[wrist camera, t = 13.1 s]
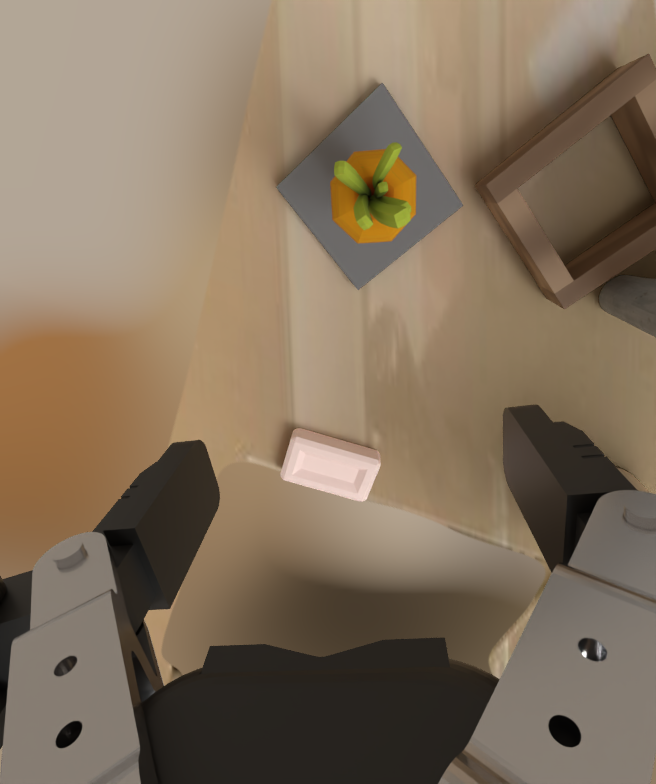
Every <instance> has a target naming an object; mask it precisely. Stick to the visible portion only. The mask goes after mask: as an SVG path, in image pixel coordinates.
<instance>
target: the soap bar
mask: <svg viewBox="0 0 656 784" xmlns="http://www.w3.org/2000/svg"><path fill="white" fill-rule="evenodd" d="M380 466H381V460H380V454H379V452H378V451H377V450H374V449H371V448H367V447H364V446H361V445H357V444H354V443H350V442H347V441H343V440H340V439H336V438H333V437H329V436H326V435H322V434H319V433H316V432H312V431H309V430H305V429H302V428H297V429H295V430H293V433H292V436H291V440H290V443H289V447H288V450H287V453H286V457H285V460H284V463H283V467H282V470H281V474H280V476H281V477H282V479H283V480H285V481H289V482H292V483H296V484H300V485H303V486H307V487H310V488H313V489H318V490H321V491H324V492H328V493H332V494H335V495H338V496H342V497H346V498H349V499H353V500H356V501H360V502H361V501H364V500H366V499H367V497H368V494H369V492H370V490H371V487H372V485H373V482H374V480H375V478H376V475H377V473H378V470H379V468H380Z"/></svg>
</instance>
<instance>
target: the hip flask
mask: <svg viewBox="0 0 656 784" xmlns="http://www.w3.org/2000/svg"><path fill="white" fill-rule="evenodd" d="M599 303H600V306H601V308H602V309H603V310H604V311H605V312H607V313H609V314H611V315H613V316H615V317H617V318H619V319H621V320H623V321H625V322H627V323H629V324H631V325H633V326H635V327H637V328H639V329H641V330H642V331H644V332H646V333H648V334H650V335H652V336H654V337H656V279H652V278H643V277H636V276H630V275H621V276H617V277H615V278H613V279H611V280H610V281H608V282H607V283H606V284H605V286H604V287H603V288H602V290H601V292H600V295H599Z"/></svg>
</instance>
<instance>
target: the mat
mask: <svg viewBox="0 0 656 784" xmlns="http://www.w3.org/2000/svg"><path fill="white" fill-rule="evenodd" d="M394 142H397V143H399V144H400V145H401V146H402V149H401V151H400V153H399V155H398V157H399V158H400V159H401V160H402V161H403V162H404V163H405V164H406V165H407V166H408V167H409V168H410V169H411V170H412V171H413V172H414V173H415V174H416V215H415V216H414V217H413V218H412V219H411V221H410V222H409V223H407V225H406V226H405V227H404V228H403V229H402V230H401V231H400V232H399V234H398V235H397V236H396V237H395V238H394V239H393V240H392V241H391V242H375V243H360V244H357V243H356V242H355V241H354V240H353V239H352V238H351V237H350V236H349V235H348V234H347V233H346V232H345V231H344V230H343V229H342V228H340V227H339V226H338V225H337V224H336V223H335V222H334V221H333V220H332V205H331V188H330V182H331V180H332V179H333V178H334V177H335V175H334V165H335V162H337V161H347V160H348V159H349V157H350V156H351V155H352V154H353V152H356V151H367V150H379V149H386V148H387V147H388V145H389V144H391V143H394ZM276 188H277V189H278V190H279V192H280V193H281V194H282V195H283V197H284V198H285V199H286V200H287V202H288V203H289V204H290V205H291V207H292V208H293V209H294V210H295V212H296V213H297V214H298V215H299V217H300V218H301V219H302V220H303V222H304V223H305V224H306V225H307V227H308V228H309V229H310V230H311V232H312V233H313V234H314V235H315V237H316V238H317V239H318V240H319V242H320V243H321V244H322V246H323V247H324V248H325V249H326V251H327V252H328V253H329V254H330V256H331V257H332V258H333V259H334V261H335V262H336V263H337V264H338V266H339V267H340V268H341V269H342V271H343V272H344V273H345V274H346V276H347V277H348V278H349V279H350V281H351V282H352V283H353V284H354V286H355V287H356V288H357V289H358V290H359V289H360V288H361V287H363V286H364V285H365V284H366V283H368V282H369V281H370V280H371V279H373V278H374V277H375V276H376V275H378V274H379V273H380V272H381V271H383V270H384V269H385V268H386V267H387V266H389V265H390V264H391V263H392V262H394V261H395V260H396V259H397V258H399V257H400V256H401V255H402V254H404V253H405V252H406V251H407V250H409V249H410V248H411V247H412V246H414V245H415V244H416V243H417V242H419V241H420V240H421V239H422V238H423V237H425V236H426V235H427V234H428V233H430V232H431V231H432V230H433V229H435V228H436V227H437V226H438V225H440V224H441V223H442V222H443V221H445V220H446V219H447V218H448V217H450V216H451V215H452V214H453V213H454V212H456V211H457V210H458V209H459V208H461V207H462V206H463V204H462V203H461V201H460V200H459V198H458V196H457V195H456V193H455V192H454V190H453V189H452V187H451V186H450V184H449V183H448V181H447V180H446V178H445V177H444V175H443V174H442V172H441V171H440V169H439V168H438V166H437V165H436V163H435V162H434V160H433V159H432V157H431V156H430V154H429V153H428V151H427V150H426V148H425V146H424V145H423V143H422V142H421V140H420V139H419V137H418V136H417V134H416V133H415V131H414V130H413V128H412V127H411V125H410V124H409V122H408V121H407V119H406V118H405V116H404V115H403V113H402V112H401V110H400V109H399V107H398V106H397V104H396V103H395V101H394V99H393V98H392V96H391V95H390V93H389V92H388V90H387V89H386V87H385V86H384V84H383V83H381V84H380V85H379V86H378V87H377V88H376V89H375V90H374V91H373V92H372V93H371V94H370V95H369V96H368V97H367V98H366V99H365V100H364V101H363V102H362V103H361V104H360V105H359V106H358V107H357V108H356V109H355V110H354V111H353V112H352V113H351V114H350V115H349V116H348V117H347V118H346V119H345V120H344V121H343V122H342V123H341V124H340V125H339V126H338V127H337V128H336V129H335V130H334V131H333V132H332V133H331V134H330V135H329V136H328V137H327V138H326V139H325V140H323V141H322V142H321V143H320V144H319V145H318V146H317V147H316V148H315V149H314V150H313V151H312V152H311V153H310V154H309V155H308V156H307V157H306V158H305V159H304V160H303V161H302V162H301V163H300V164H299V165H298V166H297V167H296V168H295V169H294V170H293V171H292V172H291V173H290V174H289V175H288V176H287V177H286V178H285V179H284V180H283V181H282V182H281V183H280V184H279V185H278V186H277V187H276Z"/></svg>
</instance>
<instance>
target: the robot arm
mask: <svg viewBox="0 0 656 784" xmlns="http://www.w3.org/2000/svg"><path fill="white" fill-rule="evenodd" d="M503 465H504V472H505V477H506V480H507V483H508V486H509V488H510V490H511V492H512V494H513V496H514V498H515V500H516V502H517V504H518V506H519V508H520V510H521V512H522V514H523V516H524V518H525V520H526V522H527V524H528V526H529V528H530V530H531V532H532V534H533V536H534V538H535V540H536V542H537V544H538V546H539V548H540V550H541V552H542V554H543V556H544V558H545V560H546V562H547V564H548V566H549V568H550V570H551V572H552V574H551V576H550V578H549V580H548V582H547V584H546V586H545V588H544V590H543V592H542V594H541V596H540V598H539V600H538V602H537V605H536V607H535V609H534V611H533V613H532V615H531V617H530V619H529V621H528V623H527V625H526V627H525V629H524V631H523V633H522V635H521V637H520V639H519V641H518V643H517V645H516V647H515V649H514V651H513V653H512V655H511V658H510V660H509V662H508V664H507V666H506V668H505V670H504V672H503V674H502V676H501V678H500V679H498V678H496V677H495V676H493V675H492V674H490V673H487V672H485V671H483V670H481V669H479V668H477V667H474V666H472V665H469V664H466V663H463V662H460V661H455V660H452V659H448V654H447V648H446V642H445V638H421V639H395V640H382V641H378V642H375V643H371V644H368V645H364V646H361V647H357V648H354V649H350V650H347V651H343V652H340V653H337V654H333V655H330V656H326V657H316V656H311V655H307V654H303V653H299V652H294V651H291V650H286V649H282V648H278V647H274V646H270V645H266V644H257V645H230V646H210V648H209V651H208V654H207V657H206V659H205V662H204V665H203V668H200V669H197V670H195V671H192V672H190V673H188V674H185V675H183V676H181V677H179V678H177V679H175V680H174V681H172V682H170V683H168V684H167V685H165V686H164V684H163V681H162V677H161V674H160V670H159V666H158V663H157V659H156V656H155V652H154V648H153V645H152V641H151V637H150V634H149V630H148V627H147V625H146V623H145V621H144V617H145V616H146V614H147V612H148V610H157V609H170V607H171V605H172V603H173V601H174V599H175V597H176V595H177V593H178V591H179V589H180V587H181V584H182V582H183V580H184V578H185V576H186V574H187V572H188V570H189V568H190V566H191V564H192V561H193V559H194V557H195V555H196V553H197V551H198V549H199V547H200V545H201V543H202V541H203V539H204V536H205V534H206V532H207V530H208V528H209V526H210V524H211V522H212V520H213V518H214V516H215V513H216V511H217V509H218V506H219V500H220V494H219V487H218V483H217V480H216V477H215V474H214V471H213V468H212V464H211V461H210V458H209V455H208V452H207V449H206V446H205V444H204V443H203V442H202V441H201V440H194V441H185V442H176V443H172V444H171V445H170V447H169V448H168V449H167V450H166V452H165V453H164V454H163V455H162V457H161V458H160V459H159V460H158V462H155V463H154V464H153V465H152V466H150V467H149V468H147V469H146V470H144V471H143V472H142V473H140V474H139V476H138V477H137V478H136V479H135V480H134V482H133V483H132V484H131V485H130V489H127V490H126V491H125V493H124V494H123V495H122V496H121V499H119V500H118V501H117V502H116V503H115V505H114V506H113V507H112V508H111V510H110V511H109V512H108V513H107V514H106V516H105V517H104V518H103V519H102V520H101V522H100V523H99V524H98V525H97V527H96V528H95V529H94V530H93V531H92V532H86V533H82V534H78V535H75V536H72V537H70V538H68V539H66V540H64V541H62V542H60V543H58V544H57V545H55V546H54V547H52V548H51V549H50V550H48V551H47V552H46V553H45V554H44V555H43V556H42V557H41V558H40V559H39V560H38V561H37V563H36V564H35V566H34V568H33V570H32V571H29V572H26V573H22V574H19V575H16V576H12V577H9V578H6V579H2V578H1V576H0V749H1V747H2V746H3V749H2V760H1V772H0V784H650V781H651V777H652V771H653V765H654V760H655V754H656V494H652V493H650V492H649V491H648V490H647V489H646V488H645V487H644V486H643V485H642V484H641V483H640V482H639V481H638V480H637V479H636V478H635V477H634V476H633V475H632V474H631V473H629V472H627V471H625V470H623V469H621V468H617V467H615V466H614V464H613V463H612V462H611V461H610V460H609V459H608V458H607V457H604V454H603V453H602V452H601V451H600V449H599V448H598V447H597V446H594V443H593V442H592V441H591V440H590V439H589V438H588V437H587V436H586V434H585V433H584V432H583V431H581V430H579V429H577V428H575V427H573V426H571V425H569V424H567V423H565V422H554V423H553V422H552V421H551V420H550V418H549V417H548V416H547V415H546V414H545V412H544V411H543V410H542V409H541V408H540V407H539V406H538V405H527V406H518V407H509V408H505V409H504V413H503Z"/></svg>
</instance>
